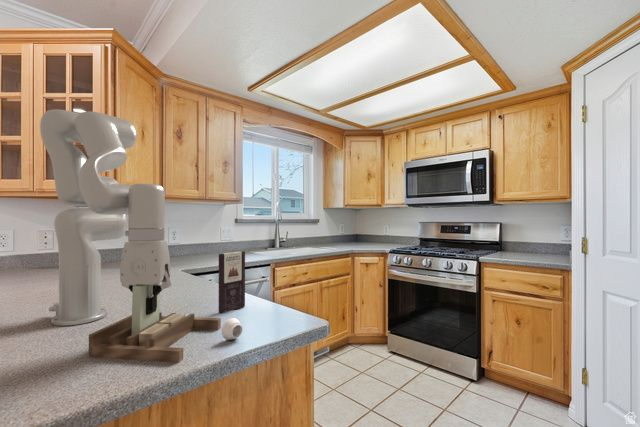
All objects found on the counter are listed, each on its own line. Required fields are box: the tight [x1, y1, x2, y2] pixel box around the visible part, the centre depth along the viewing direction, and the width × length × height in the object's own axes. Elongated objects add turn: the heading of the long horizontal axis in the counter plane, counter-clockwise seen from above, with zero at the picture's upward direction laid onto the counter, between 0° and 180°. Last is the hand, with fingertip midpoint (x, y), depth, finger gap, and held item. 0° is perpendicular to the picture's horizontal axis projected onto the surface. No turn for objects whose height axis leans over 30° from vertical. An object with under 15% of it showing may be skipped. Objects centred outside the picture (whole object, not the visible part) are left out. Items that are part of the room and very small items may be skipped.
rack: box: [88, 311, 222, 363], centre depth 72 cm, size 20×20×5 cm
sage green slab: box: [131, 285, 161, 335], centre depth 73 cm, size 2×7×12 cm, turn 174°
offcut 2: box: [160, 313, 186, 327], centre depth 76 cm, size 3×6×4 cm, turn 174°
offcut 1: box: [139, 324, 169, 346], centre depth 69 cm, size 3×6×4 cm, turn 174°
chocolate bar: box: [218, 250, 246, 314], centre depth 96 cm, size 9×1×18 cm, turn 140°
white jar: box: [221, 317, 243, 341], centre depth 73 cm, size 5×3×5 cm, turn 142°
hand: (146, 312), depth 73 cm, fingers closed
